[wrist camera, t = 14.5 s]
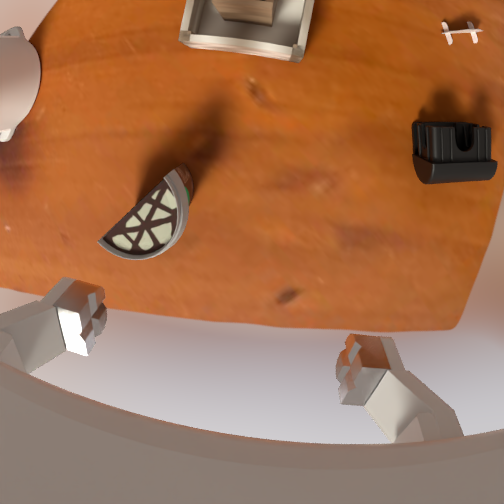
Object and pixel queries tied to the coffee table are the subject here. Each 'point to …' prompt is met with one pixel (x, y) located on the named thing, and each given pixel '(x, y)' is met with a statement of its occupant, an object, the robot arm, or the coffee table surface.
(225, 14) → the small crate
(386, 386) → the robot arm
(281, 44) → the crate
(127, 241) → the food container
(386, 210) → the coffee table surface
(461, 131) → the end cap
